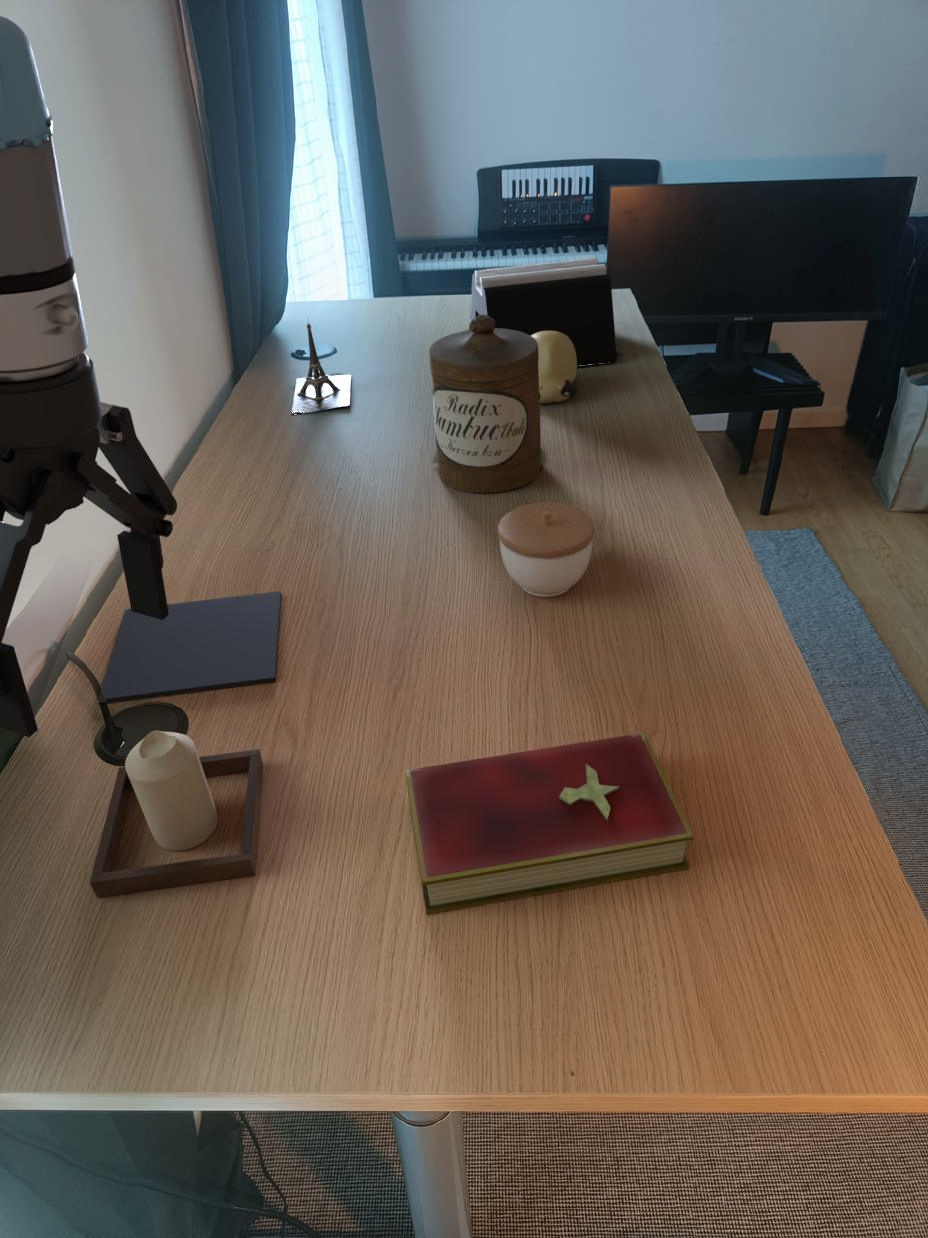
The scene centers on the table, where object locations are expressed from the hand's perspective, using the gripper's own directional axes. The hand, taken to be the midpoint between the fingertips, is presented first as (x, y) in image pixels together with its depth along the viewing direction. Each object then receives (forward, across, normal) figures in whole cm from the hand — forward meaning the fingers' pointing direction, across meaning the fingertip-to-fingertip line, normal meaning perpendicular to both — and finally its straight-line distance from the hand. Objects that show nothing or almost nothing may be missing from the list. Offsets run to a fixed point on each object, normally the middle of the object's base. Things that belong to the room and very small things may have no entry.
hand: (89, 665), depth 59 cm
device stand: (+14, +123, 0) cm, 124 cm away
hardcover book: (+18, +13, -31) cm, 38 cm away
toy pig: (+15, +103, -7) cm, 105 cm away
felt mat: (+21, +27, +12) cm, 37 cm away
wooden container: (+16, +75, -6) cm, 77 cm away
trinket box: (+16, +49, -21) cm, 56 cm away
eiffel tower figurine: (+19, +95, +31) cm, 102 cm away
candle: (+21, +5, -1) cm, 22 cm away
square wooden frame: (+21, +5, -1) cm, 22 cm away
